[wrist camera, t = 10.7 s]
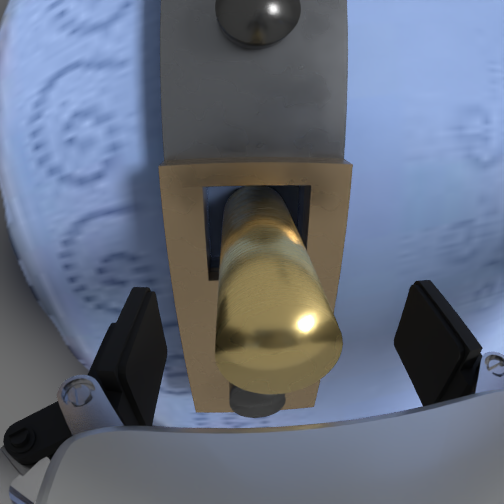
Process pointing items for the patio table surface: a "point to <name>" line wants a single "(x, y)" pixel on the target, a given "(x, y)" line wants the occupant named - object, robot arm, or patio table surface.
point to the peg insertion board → (249, 153)
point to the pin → (270, 300)
